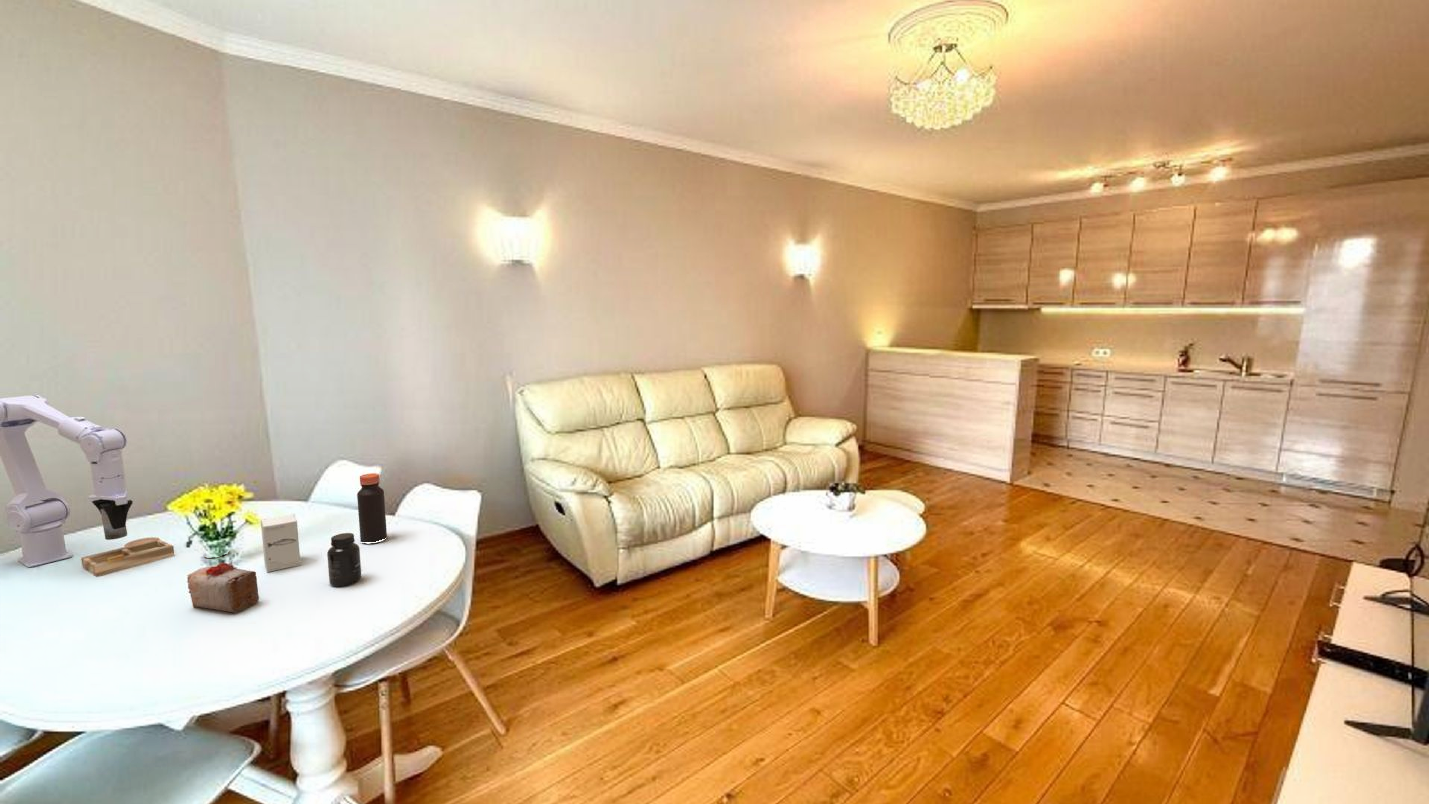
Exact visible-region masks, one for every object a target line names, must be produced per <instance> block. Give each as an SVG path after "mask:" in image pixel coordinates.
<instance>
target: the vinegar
mask: <svg viewBox="0 0 1429 804" xmlns="http://www.w3.org/2000/svg"><path fill="white" fill-rule="evenodd" d="M359 484H360V486H361V488H360V489H359V491H357V494H356V498H357V511H358V525H359V539H360V543H361V542H376V541H379V540H382V539H385V538H386V537H387V538H388V534H387V531H388V530H387V519H386V518H387V517H386V503H385V489H383V488H382V487H380V486H379V484H380V474H379V473H376V472H375V473H365V474H364V473H363V474H361V475H359ZM385 540H386V539H385Z"/></svg>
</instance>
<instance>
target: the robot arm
mask: <svg viewBox="0 0 1429 804" xmlns="http://www.w3.org/2000/svg"><path fill="white" fill-rule="evenodd" d="M37 423H42V424H44V425H47V426H49V427H52V428H54V429H57V433H58V435H60V436H61V437H63V438H65V439H67V440H69V441H71V442H73V443H76V444H78V445H79V446H80V449H81V451H82V452H83V453H84V455H85V459H86V460H87V462H89V465H90V471H91V478H92V486H93V491H94V492H93V494H91V495H88V496H87V499H88V500H92V501H91V503H92V505H94V506H95V507H96V508H97V510H98V511H99V513H100V514H101V509H103V510H104V511H105V512H106V514H107V516H108V518H109V521H110V524H111V526H112V528H113V529H119V528H123V527H125V525H126V526H127V519H128V513H129V511H130V509H131V506H132V505H133V500H131V499H128V497H127V496H128V494H129V490H128V489H127V483H126V476H125V469H124V461H123V455H122V454H123V453H122V450H123V449H124V448H125V447H126V446H127V442H128V441H127V440H128V439H127V437H126V434H125V433H124V431H122V430H120V429H119V428H117V427H113V428H104V427H103V426H101V425H98V424H96V423H93V422H92V421H89V420H87V418H86V417H84V416H72V417H70V416H68V415H67V414H64V413H63V412H61V411H59V410H58V409H56V408H54V407H52V406H50V404H49V401H48V400H47V398H44V397H42V396H41V395H39V394H29V395H21V396H11V397H3V398H0V459H1V462H2V465H3V467H4V470H5V471H6V474H7V477H8V479H9V481H10V483H11V484H10V485H11V486H12V489H13V491H14V494H15V497H14V498H12V499H11V501H9V502H8V503H6V505H5V507H4V509H5V511H6V523H7V525H8V527H9V528H10V529H11V530H13V531H15V532H16V533H19V534H20V535H19V540H20V547H21V553H22V557H17V561H18V562H20V563H21V564H23V565H24V566H26V567H27V568H32V567H37V566H40V565H44V564H45V565H46V564H48V563H53V562H57V561H60V560H61V561H62V560H65V559H69V558H72V557H73V554H72V553H71V552H68V551H67V547H66V540H65V536H64V535H65V534H64V528H63V525H64V524H66V520H67V519H68V518H69V517H70V515H71V508H70V504H68V503H67V502H66V501H65V499H64V498H63V496H62V493H61V492H57V491H54V490H51V489H48V488H47V486H46V484H45V482H44V479H43V476H42V474H41V471H40V469H39V466H38V464H37V461H36V460H35V457H34V454H33V452H32V449H31V446H30V444H29V442H28V439H27V437H26V434H25V433H26V432H27V431H28V429H29V428H31V427H33V426H34V425H36V424H37ZM37 502H39V503H37ZM33 503H34V504H33ZM30 504H31V505H30Z"/></svg>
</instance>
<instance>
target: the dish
mask: <svg viewBox="0 0 1429 804" xmlns="http://www.w3.org/2000/svg"><path fill="white" fill-rule="evenodd" d="M155 539H160V538H159V537H156V536H154V537H151V536H150V537H143V538H139V539H138V538H137V539H134V540H131V541H129V542H127V543H124V545H123V547H126V546H131V545H135V544H139V543H143V542H147V541H151V540H155Z"/></svg>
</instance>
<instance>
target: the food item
mask: <svg viewBox="0 0 1429 804" xmlns="http://www.w3.org/2000/svg"><path fill="white" fill-rule="evenodd" d="M232 562H233V560H231V561H230V562H229V563H227V562H221V563H219V564H217V565H215V566H213V565H210V566H206V567H201V568H199V569H197V570H195V571H193V572H191V573H188V574H186V575H187V589H188V593H189V595H190V598H191V604H192V607H194V608H202V609H203V608H206V609H210V610H215V611H216V610H217V611H224V612H228V613H234V614H237V613H240V612H241V611H244V610H246V609H247V608H249V607H252V606H255V605H256V604H258V603H259V600H260V596H259V587H258V578H257V572H256V571H254V570H253V571H252V570H247V569H243V568H242V569H241V568H238V567H236V566H234V565H233V564H232Z"/></svg>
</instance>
